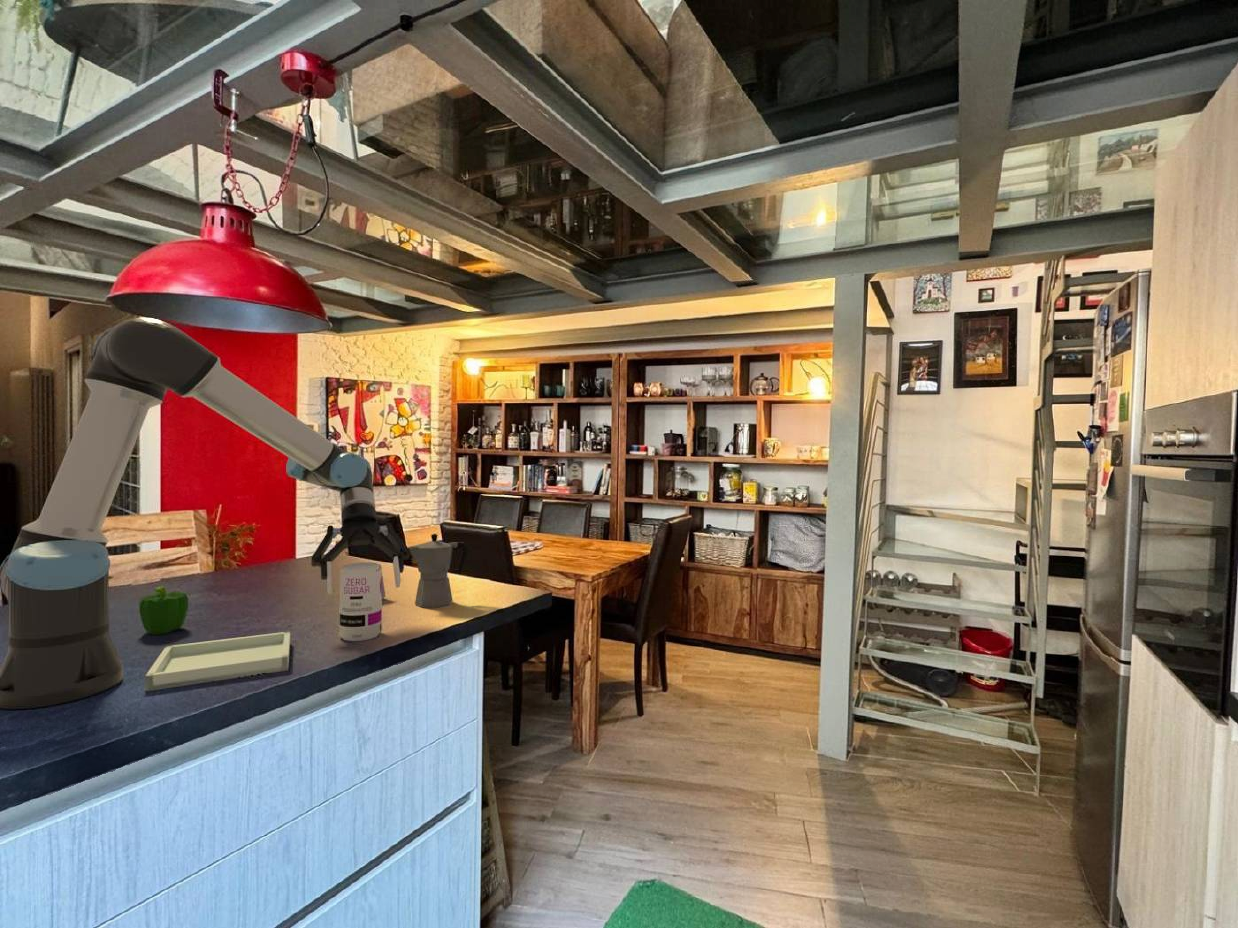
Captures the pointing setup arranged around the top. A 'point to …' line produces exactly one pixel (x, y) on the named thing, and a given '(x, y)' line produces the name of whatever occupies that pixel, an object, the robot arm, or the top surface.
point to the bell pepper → (163, 611)
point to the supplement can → (360, 601)
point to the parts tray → (219, 660)
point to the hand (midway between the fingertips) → (364, 587)
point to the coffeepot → (436, 571)
